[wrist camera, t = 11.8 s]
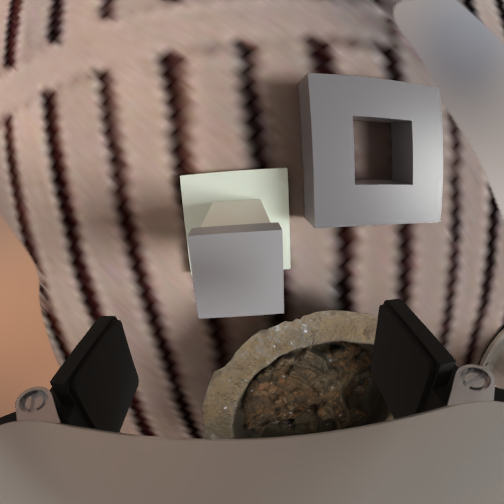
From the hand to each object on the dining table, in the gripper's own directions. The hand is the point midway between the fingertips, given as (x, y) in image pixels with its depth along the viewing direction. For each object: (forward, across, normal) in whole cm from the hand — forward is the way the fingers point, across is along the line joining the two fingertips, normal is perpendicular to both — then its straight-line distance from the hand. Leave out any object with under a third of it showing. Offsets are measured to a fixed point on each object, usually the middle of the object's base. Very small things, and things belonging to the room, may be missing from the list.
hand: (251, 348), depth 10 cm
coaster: (+18, +1, -1) cm, 18 cm away
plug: (+17, +1, -1) cm, 17 cm away
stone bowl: (+19, -6, +18) cm, 27 cm away
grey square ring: (+18, -11, -7) cm, 22 cm away
